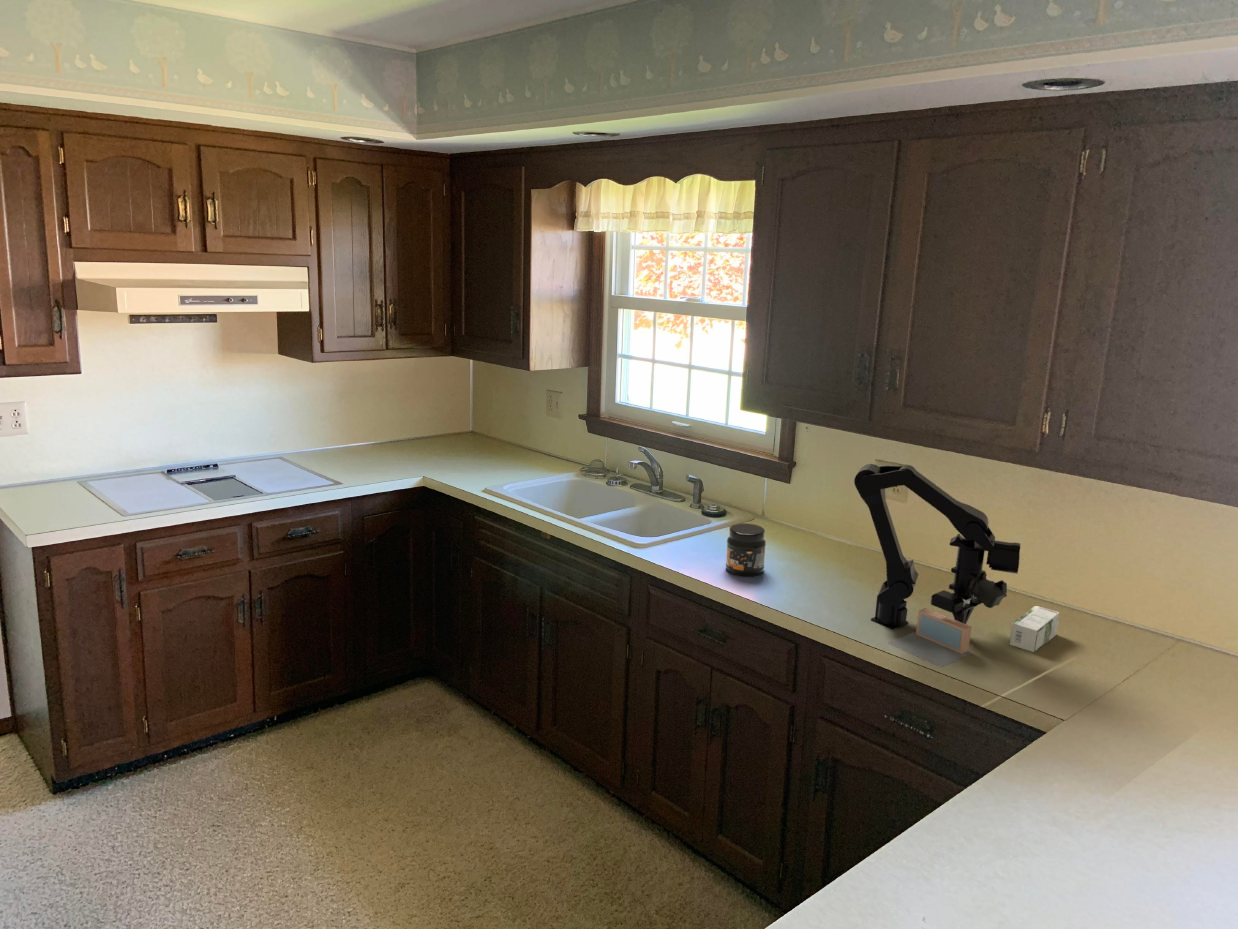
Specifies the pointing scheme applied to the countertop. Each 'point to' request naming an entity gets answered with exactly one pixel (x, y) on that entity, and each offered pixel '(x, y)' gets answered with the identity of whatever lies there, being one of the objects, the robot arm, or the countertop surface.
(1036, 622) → the syrup box
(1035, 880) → the countertop surface
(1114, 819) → the countertop surface
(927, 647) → the mat
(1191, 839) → the countertop surface
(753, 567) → the supplement container
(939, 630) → the tile
